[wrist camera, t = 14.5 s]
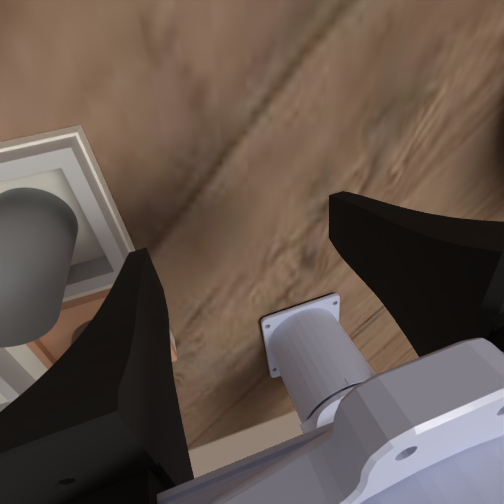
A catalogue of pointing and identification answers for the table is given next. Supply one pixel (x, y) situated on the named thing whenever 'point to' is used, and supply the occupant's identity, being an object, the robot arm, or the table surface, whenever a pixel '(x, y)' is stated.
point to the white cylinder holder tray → (52, 251)
